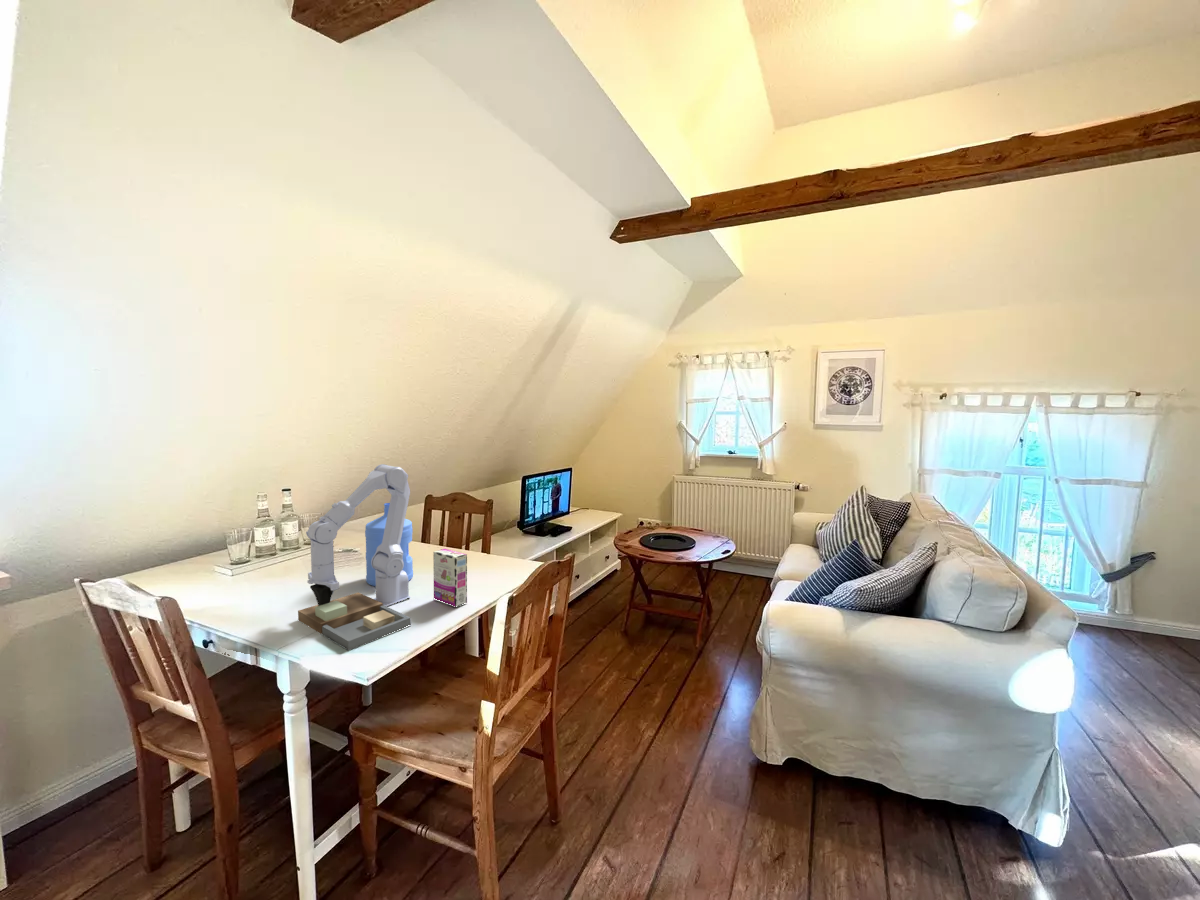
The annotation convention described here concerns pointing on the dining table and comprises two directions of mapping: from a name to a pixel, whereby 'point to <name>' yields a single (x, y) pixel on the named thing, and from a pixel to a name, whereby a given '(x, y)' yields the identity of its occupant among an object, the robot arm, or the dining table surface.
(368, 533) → the water jug
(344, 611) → the sage tile
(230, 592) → the dining table surface
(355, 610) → the walnut board
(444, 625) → the dining table surface
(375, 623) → the ash block
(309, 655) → the dining table surface
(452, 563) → the candy bar box
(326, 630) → the tray
